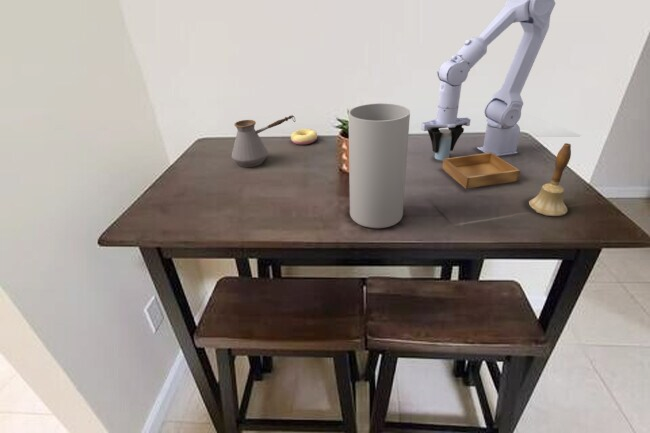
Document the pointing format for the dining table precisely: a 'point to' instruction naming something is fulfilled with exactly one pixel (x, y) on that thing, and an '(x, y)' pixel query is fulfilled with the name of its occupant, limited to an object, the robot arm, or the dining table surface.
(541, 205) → the hand bell
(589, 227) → the dining table surface
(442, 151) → the shaker
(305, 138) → the donut
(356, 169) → the cylinder vase
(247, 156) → the coffee pot
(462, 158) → the wooden tray
